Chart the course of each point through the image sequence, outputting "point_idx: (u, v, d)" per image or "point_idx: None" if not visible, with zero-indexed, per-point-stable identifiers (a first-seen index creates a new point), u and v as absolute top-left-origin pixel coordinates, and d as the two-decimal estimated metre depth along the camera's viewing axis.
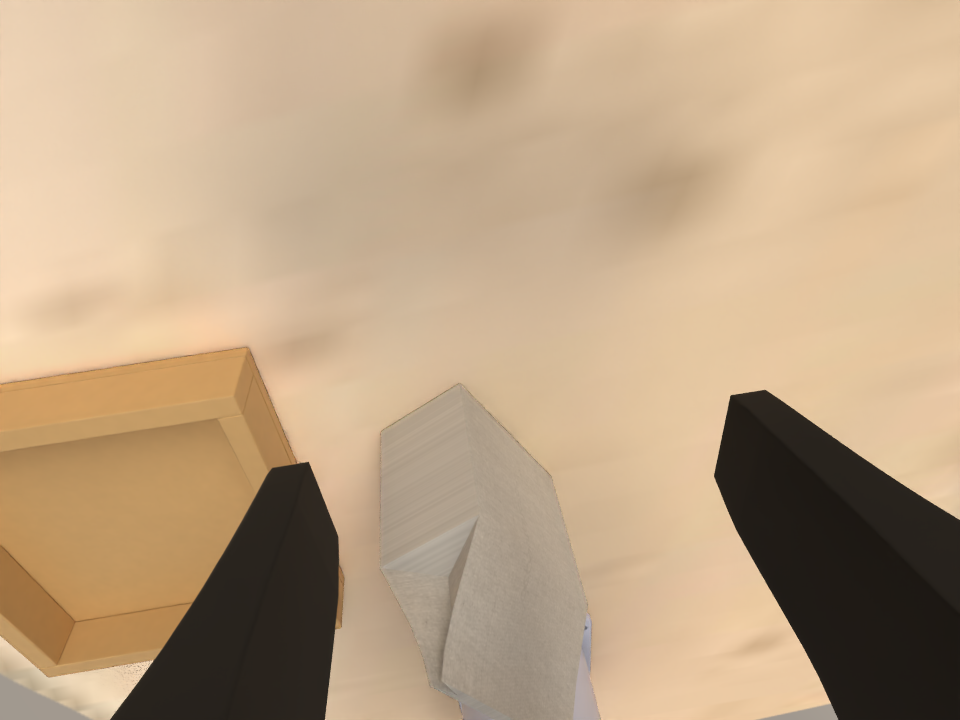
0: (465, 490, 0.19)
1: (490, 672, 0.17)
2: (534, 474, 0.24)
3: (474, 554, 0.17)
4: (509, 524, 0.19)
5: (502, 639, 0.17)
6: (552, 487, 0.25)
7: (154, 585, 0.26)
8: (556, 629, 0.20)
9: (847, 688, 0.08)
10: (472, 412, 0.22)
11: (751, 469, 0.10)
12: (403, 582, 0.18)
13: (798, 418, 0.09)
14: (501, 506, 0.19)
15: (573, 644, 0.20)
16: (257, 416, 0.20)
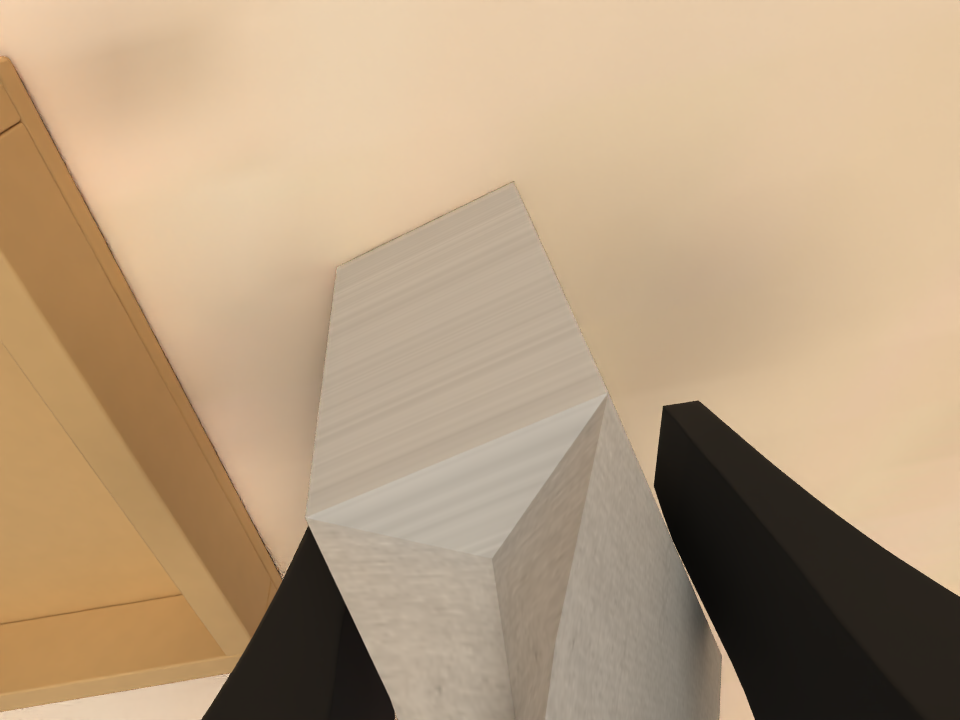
0: (554, 346, 0.07)
1: None
2: None
3: (598, 496, 0.06)
4: None
5: None
6: None
7: None
8: (696, 711, 0.08)
9: (766, 702, 0.08)
10: None
11: (681, 480, 0.10)
12: (369, 559, 0.06)
13: (724, 429, 0.09)
14: None
15: None
16: (24, 208, 0.09)
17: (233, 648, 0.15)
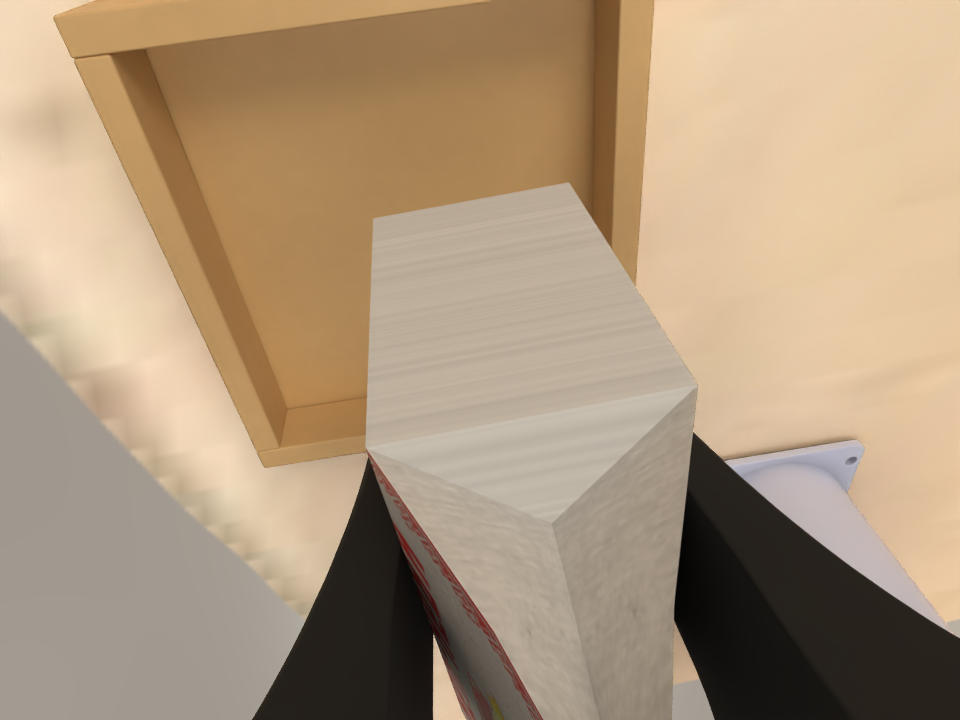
0: (635, 334, 0.08)
1: None
2: None
3: (687, 476, 0.06)
4: None
5: None
6: None
7: None
8: None
9: (726, 709, 0.08)
10: None
11: None
12: (439, 500, 0.06)
13: None
14: None
15: None
16: None
17: None
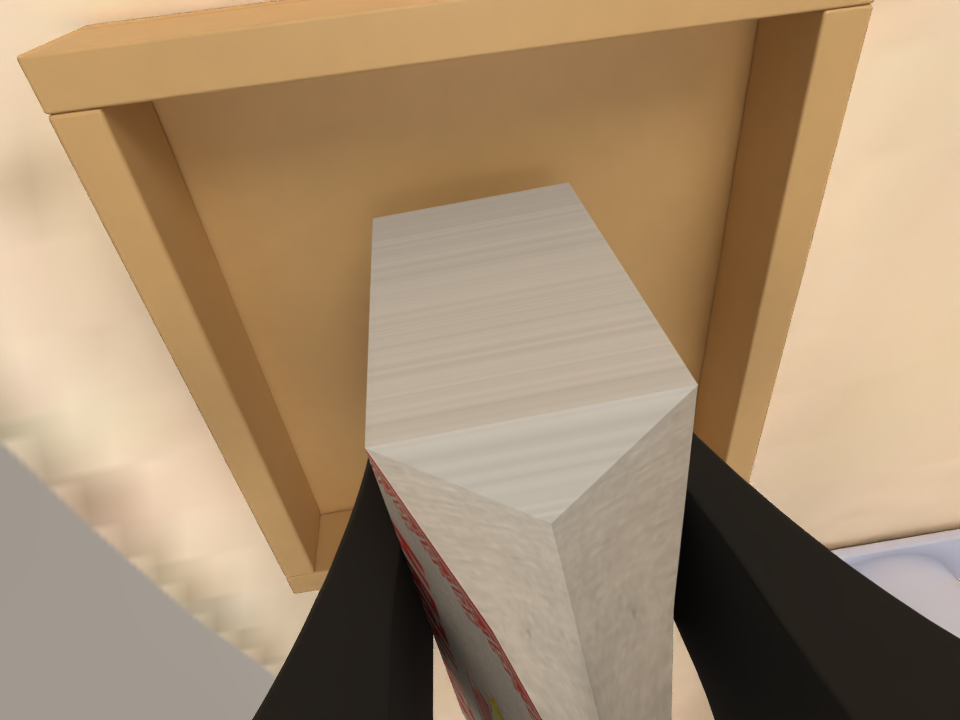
0: (635, 335, 0.08)
1: None
2: None
3: (687, 476, 0.06)
4: None
5: None
6: None
7: None
8: None
9: (725, 709, 0.08)
10: None
11: None
12: (437, 500, 0.06)
13: None
14: None
15: None
16: None
17: None
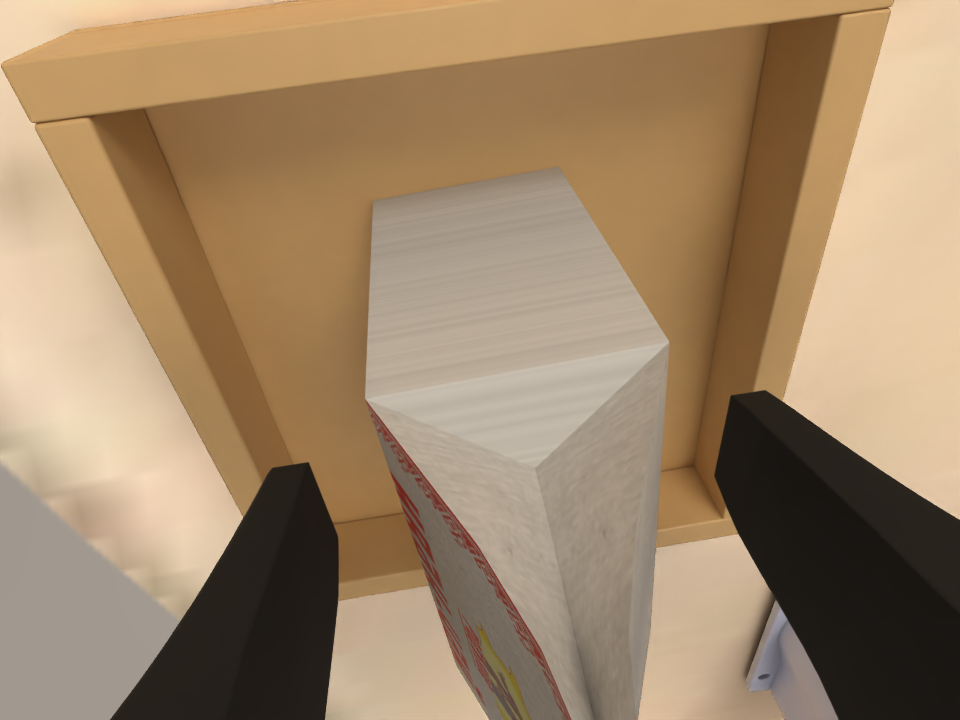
0: (614, 299, 0.08)
1: None
2: None
3: (656, 422, 0.07)
4: None
5: (632, 650, 0.07)
6: None
7: None
8: (641, 659, 0.09)
9: (847, 688, 0.08)
10: None
11: (751, 469, 0.10)
12: (431, 444, 0.07)
13: (798, 418, 0.09)
14: None
15: (639, 696, 0.10)
16: None
17: None
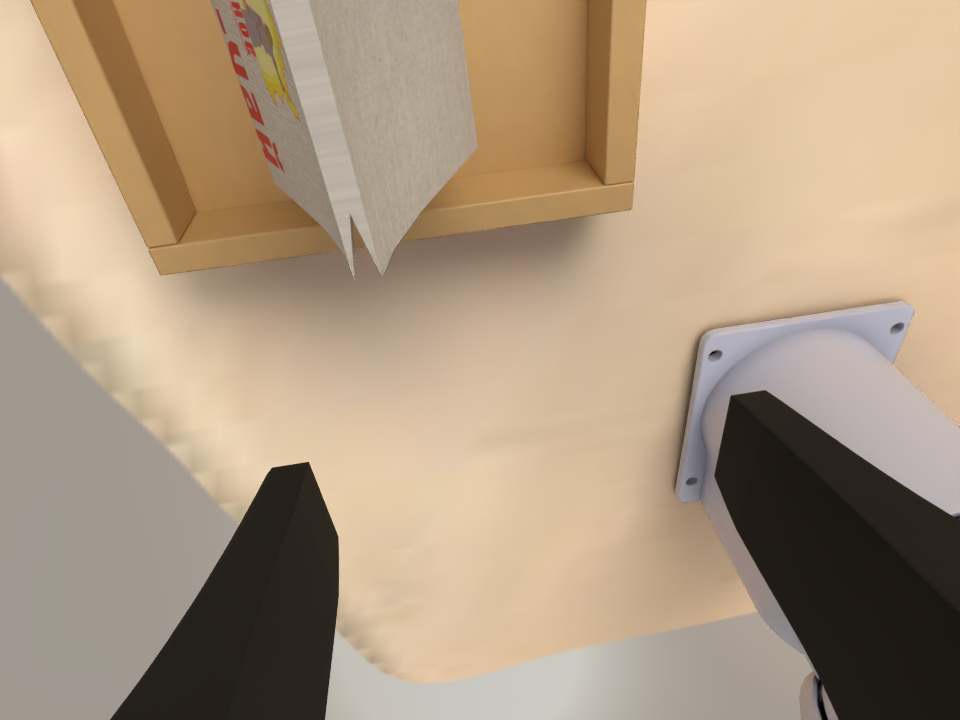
0: None
1: None
2: None
3: None
4: None
5: None
6: None
7: None
8: (430, 69, 0.09)
9: (847, 688, 0.08)
10: None
11: (751, 469, 0.10)
12: None
13: (798, 418, 0.09)
14: None
15: (441, 148, 0.10)
16: None
17: (616, 172, 0.16)
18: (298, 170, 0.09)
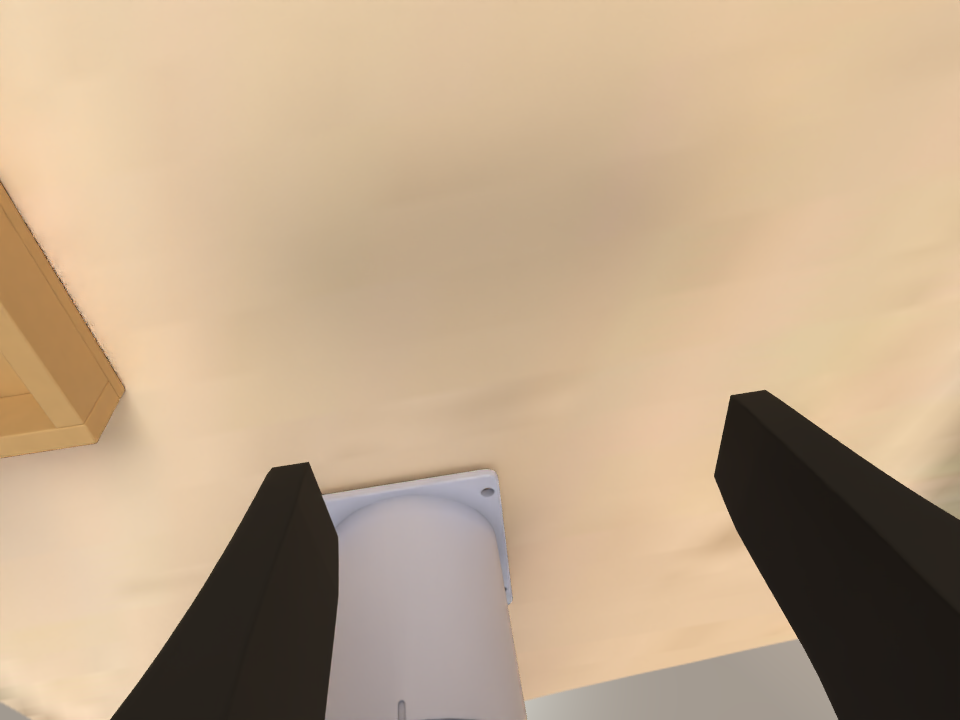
0: None
1: None
2: None
3: None
4: None
5: None
6: None
7: None
8: None
9: (847, 688, 0.08)
10: None
11: (751, 469, 0.10)
12: None
13: (798, 418, 0.09)
14: None
15: None
16: None
17: (59, 418, 0.17)
18: None
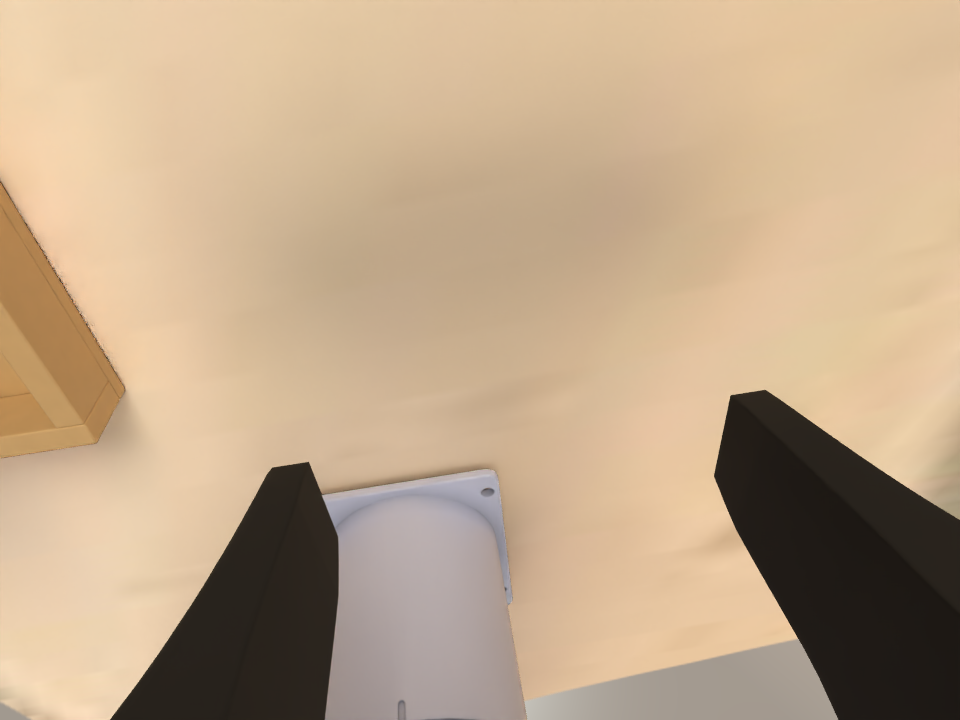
0: None
1: None
2: None
3: None
4: None
5: None
6: None
7: None
8: None
9: (847, 688, 0.08)
10: None
11: (751, 469, 0.10)
12: None
13: (798, 418, 0.09)
14: None
15: None
16: None
17: (59, 418, 0.17)
18: None
